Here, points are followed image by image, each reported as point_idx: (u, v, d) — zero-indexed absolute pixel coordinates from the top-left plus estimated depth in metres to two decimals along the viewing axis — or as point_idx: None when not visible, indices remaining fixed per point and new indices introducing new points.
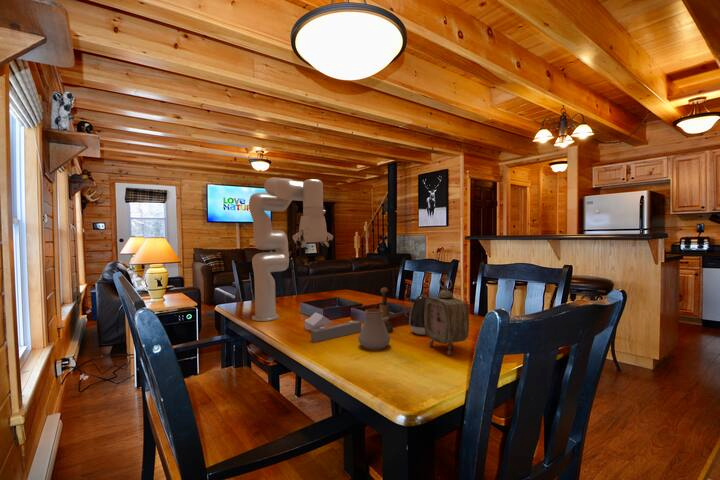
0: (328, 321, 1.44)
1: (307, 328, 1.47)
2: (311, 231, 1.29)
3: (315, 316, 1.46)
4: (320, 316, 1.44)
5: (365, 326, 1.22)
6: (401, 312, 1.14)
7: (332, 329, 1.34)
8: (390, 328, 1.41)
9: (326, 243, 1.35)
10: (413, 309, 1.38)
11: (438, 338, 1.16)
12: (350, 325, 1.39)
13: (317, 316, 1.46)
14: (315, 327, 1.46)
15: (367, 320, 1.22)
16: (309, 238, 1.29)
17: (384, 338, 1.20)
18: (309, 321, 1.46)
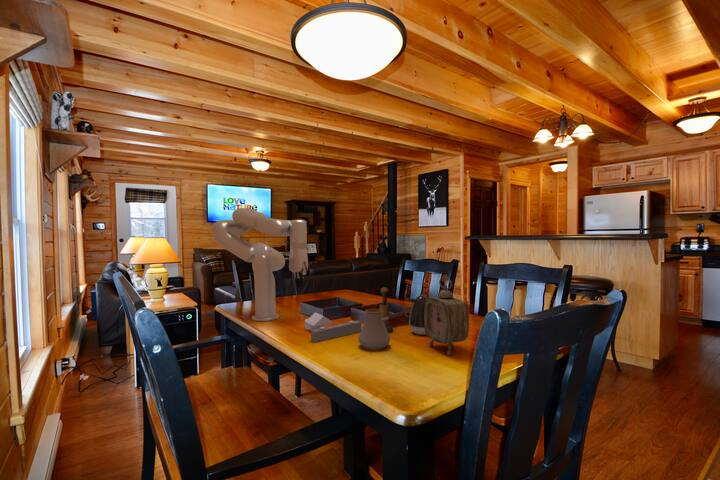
0: (328, 321, 1.44)
1: (307, 328, 1.47)
2: None
3: (315, 316, 1.46)
4: (320, 316, 1.44)
5: (365, 326, 1.22)
6: (401, 312, 1.14)
7: (332, 329, 1.34)
8: (390, 328, 1.41)
9: None
10: (413, 309, 1.38)
11: (438, 338, 1.16)
12: (350, 325, 1.39)
13: (317, 316, 1.46)
14: (315, 327, 1.46)
15: (367, 320, 1.22)
16: None
17: (384, 338, 1.20)
18: (309, 321, 1.46)
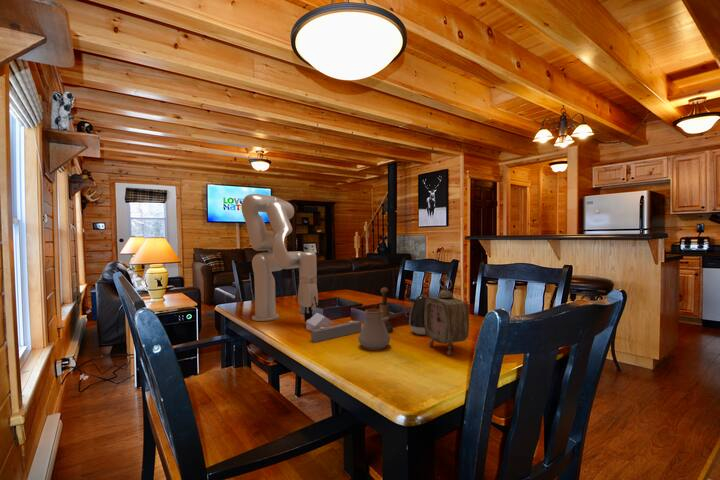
0: (329, 321, 1.43)
1: (308, 328, 1.46)
2: None
3: (317, 316, 1.45)
4: (321, 316, 1.43)
5: (365, 326, 1.22)
6: (401, 312, 1.14)
7: (332, 329, 1.34)
8: (390, 328, 1.41)
9: None
10: (413, 309, 1.38)
11: (438, 338, 1.16)
12: (350, 325, 1.39)
13: (318, 316, 1.45)
14: (316, 327, 1.45)
15: (367, 320, 1.22)
16: None
17: (384, 338, 1.20)
18: (310, 321, 1.45)
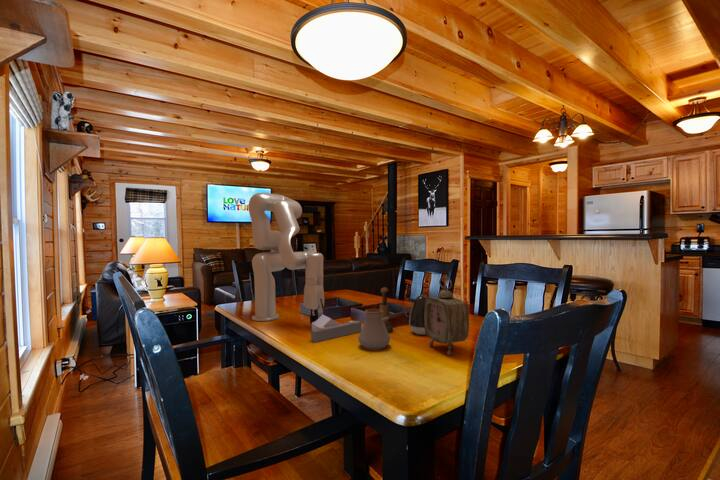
0: (336, 324, 1.39)
1: None
2: None
3: (323, 319, 1.42)
4: (327, 319, 1.39)
5: (365, 326, 1.22)
6: (401, 312, 1.14)
7: (332, 329, 1.34)
8: (390, 328, 1.41)
9: None
10: (413, 309, 1.38)
11: (438, 338, 1.16)
12: (350, 325, 1.39)
13: (324, 319, 1.41)
14: None
15: (367, 320, 1.22)
16: None
17: (384, 338, 1.20)
18: (316, 324, 1.41)
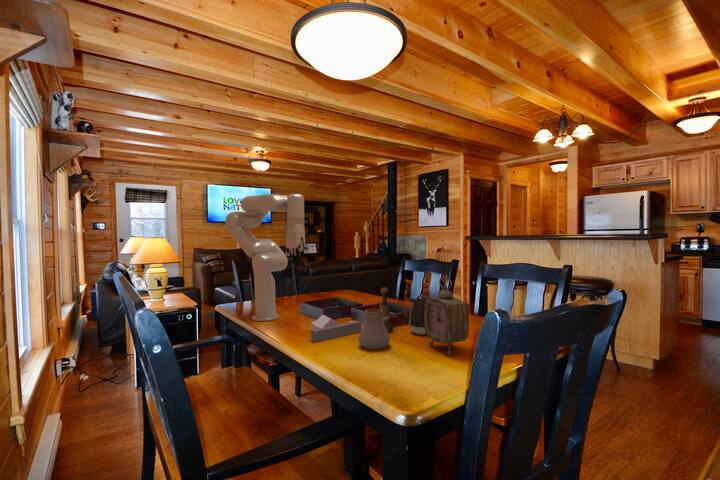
0: (336, 324, 1.39)
1: None
2: None
3: (322, 319, 1.42)
4: (327, 319, 1.39)
5: (365, 326, 1.22)
6: (401, 312, 1.14)
7: (332, 329, 1.34)
8: (390, 328, 1.41)
9: None
10: (413, 309, 1.38)
11: (438, 338, 1.16)
12: (350, 325, 1.39)
13: (324, 319, 1.41)
14: None
15: (367, 320, 1.22)
16: None
17: (384, 338, 1.20)
18: (316, 324, 1.41)
